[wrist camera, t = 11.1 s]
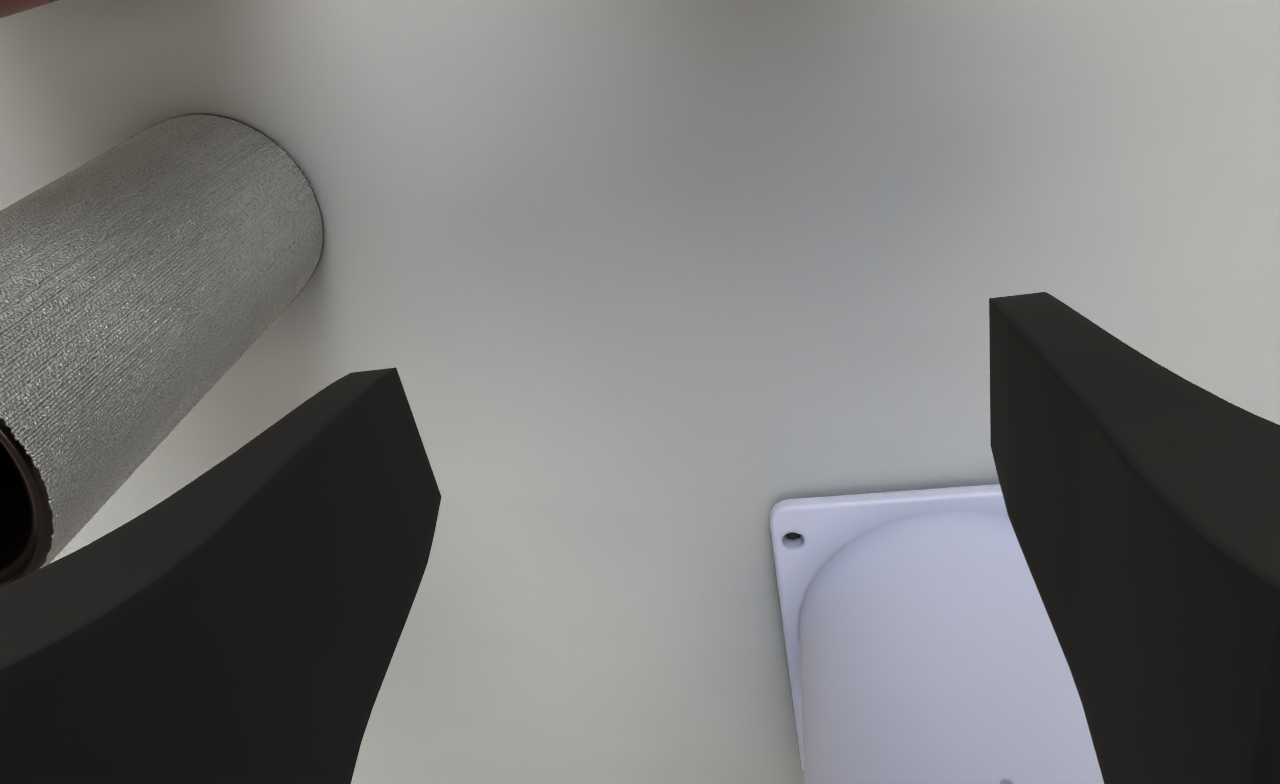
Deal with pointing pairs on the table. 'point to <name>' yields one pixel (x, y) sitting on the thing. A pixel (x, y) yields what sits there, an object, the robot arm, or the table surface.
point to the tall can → (19, 6)
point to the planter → (133, 310)
